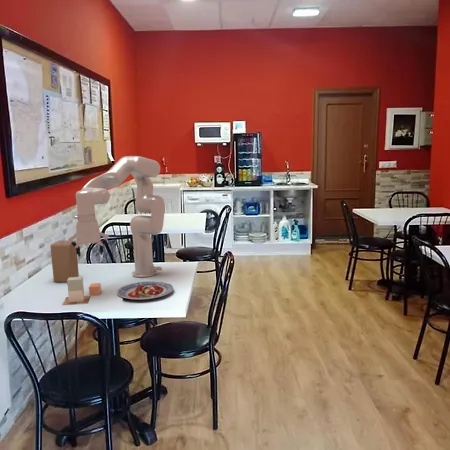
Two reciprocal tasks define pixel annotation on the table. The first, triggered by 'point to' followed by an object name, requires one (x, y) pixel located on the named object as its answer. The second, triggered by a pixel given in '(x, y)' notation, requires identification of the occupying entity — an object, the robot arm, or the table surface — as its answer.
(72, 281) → the sage green brick
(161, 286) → the ceramic plate
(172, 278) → the table surface
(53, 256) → the wooden block
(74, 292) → the cream base brick
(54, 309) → the table surface
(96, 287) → the terracotta brick
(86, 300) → the walnut board
